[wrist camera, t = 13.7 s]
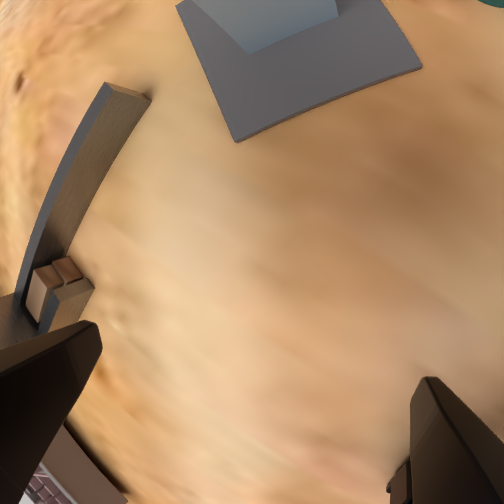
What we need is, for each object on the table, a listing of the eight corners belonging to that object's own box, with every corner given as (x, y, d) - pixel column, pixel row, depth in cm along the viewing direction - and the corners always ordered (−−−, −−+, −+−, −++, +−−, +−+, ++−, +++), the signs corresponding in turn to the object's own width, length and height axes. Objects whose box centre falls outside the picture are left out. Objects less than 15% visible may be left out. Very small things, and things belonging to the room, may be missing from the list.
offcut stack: (84, 276, 25) (49, 288, 22) (68, 310, 27) (37, 324, 23) (69, 256, 26) (35, 265, 22) (54, 291, 27) (23, 302, 24)
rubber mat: (421, 68, 14) (422, 65, 14) (237, 143, 19) (234, 141, 18) (326, -59, 14) (325, -64, 13) (179, 9, 18) (175, 6, 17)
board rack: (193, 138, 20) (33, 107, 8) (72, 334, 27) (-23, 384, 16) (141, 92, 20) (-2, 55, 9) (40, 290, 28) (-54, 324, 17)
